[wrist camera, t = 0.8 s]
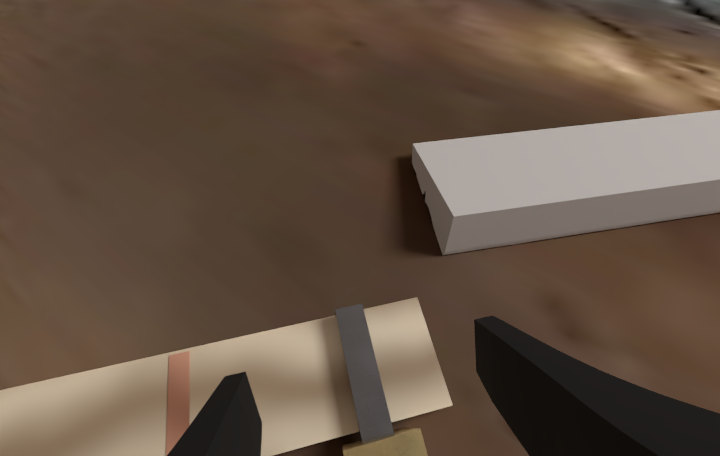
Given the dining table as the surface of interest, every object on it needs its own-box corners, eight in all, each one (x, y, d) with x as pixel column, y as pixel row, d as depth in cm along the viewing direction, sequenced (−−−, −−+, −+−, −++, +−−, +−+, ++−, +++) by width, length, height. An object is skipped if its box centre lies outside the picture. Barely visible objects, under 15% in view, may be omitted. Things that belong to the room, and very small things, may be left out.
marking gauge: (430, 527, 19) (456, 558, 15) (361, 550, 19) (367, 589, 14) (374, 312, 25) (381, 289, 21) (320, 324, 25) (316, 303, 20)
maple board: (446, 406, 22) (453, 405, 21) (-52, 545, 18) (-85, 555, 17) (413, 303, 26) (417, 296, 24) (-14, 400, 21) (-39, 398, 20)
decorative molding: (407, 185, 35) (442, 259, 28) (412, 143, 31) (453, 216, 24) (694, 149, 39) (787, 205, 32) (726, 109, 36) (837, 162, 29)
